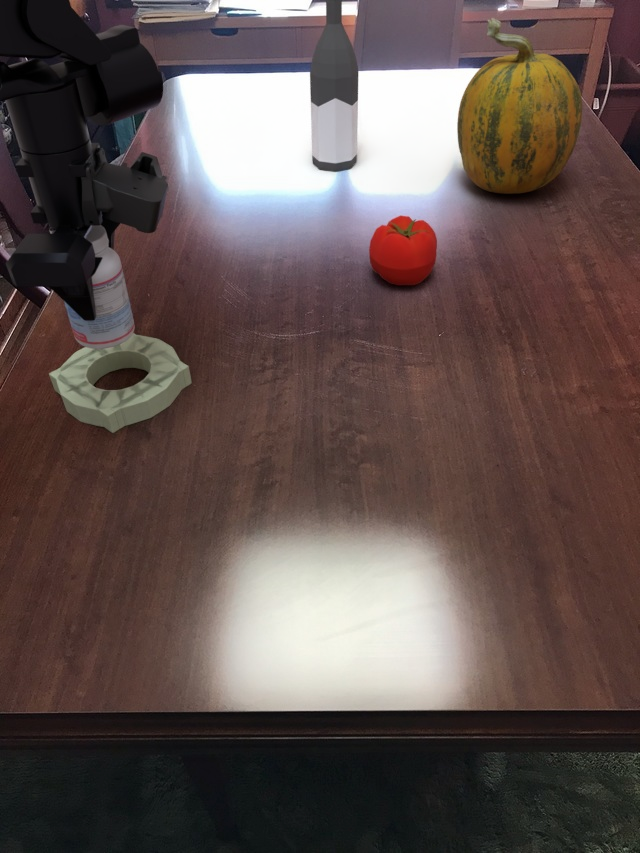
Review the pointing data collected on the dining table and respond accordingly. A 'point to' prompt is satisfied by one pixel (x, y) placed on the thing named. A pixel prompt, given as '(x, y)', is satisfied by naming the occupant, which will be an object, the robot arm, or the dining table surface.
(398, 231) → the tomato
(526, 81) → the pumpkin
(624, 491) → the dining table surface
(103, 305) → the pill bottle
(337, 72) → the wine bottle
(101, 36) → the robot arm
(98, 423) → the socket pad
